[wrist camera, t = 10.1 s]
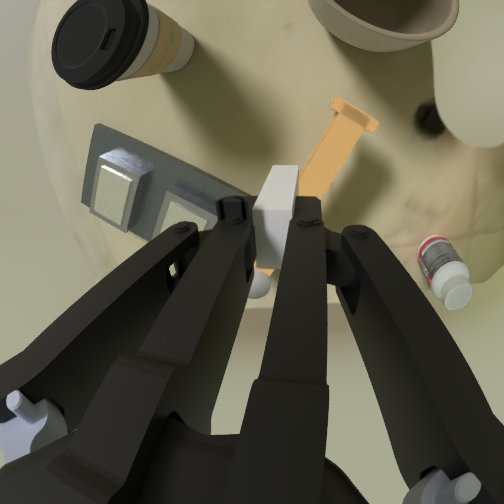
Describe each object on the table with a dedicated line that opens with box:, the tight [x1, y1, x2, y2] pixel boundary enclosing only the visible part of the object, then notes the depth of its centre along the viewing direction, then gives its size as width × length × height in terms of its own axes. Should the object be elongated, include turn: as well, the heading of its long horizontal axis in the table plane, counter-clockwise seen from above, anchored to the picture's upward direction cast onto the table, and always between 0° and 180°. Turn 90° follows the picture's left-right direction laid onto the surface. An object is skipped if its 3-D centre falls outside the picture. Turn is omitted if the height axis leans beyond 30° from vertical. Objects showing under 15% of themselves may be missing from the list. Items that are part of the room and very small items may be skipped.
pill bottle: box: [417, 235, 473, 311], centre depth 27 cm, size 5×5×10 cm
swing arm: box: [248, 96, 380, 299], centre depth 26 cm, size 22×4×3 cm, turn 154°
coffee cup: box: [51, 0, 194, 90], centre depth 18 cm, size 9×9×15 cm
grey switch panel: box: [81, 123, 251, 242], centre depth 34 cm, size 13×30×5 cm, turn 64°
